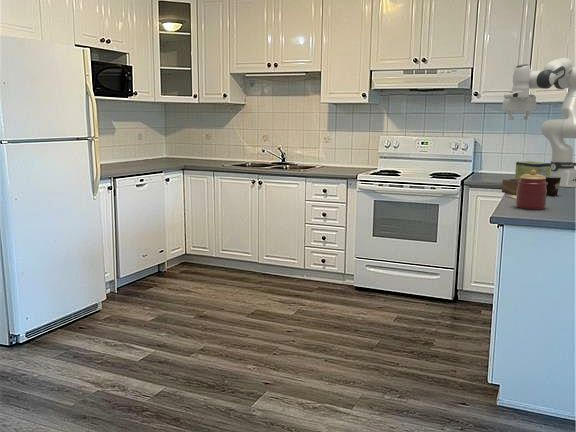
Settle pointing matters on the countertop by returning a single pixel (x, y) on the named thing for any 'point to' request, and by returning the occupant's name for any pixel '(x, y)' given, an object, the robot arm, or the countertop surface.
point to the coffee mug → (552, 185)
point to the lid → (513, 196)
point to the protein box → (532, 168)
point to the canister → (531, 191)
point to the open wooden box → (510, 186)
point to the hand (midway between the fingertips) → (518, 119)
